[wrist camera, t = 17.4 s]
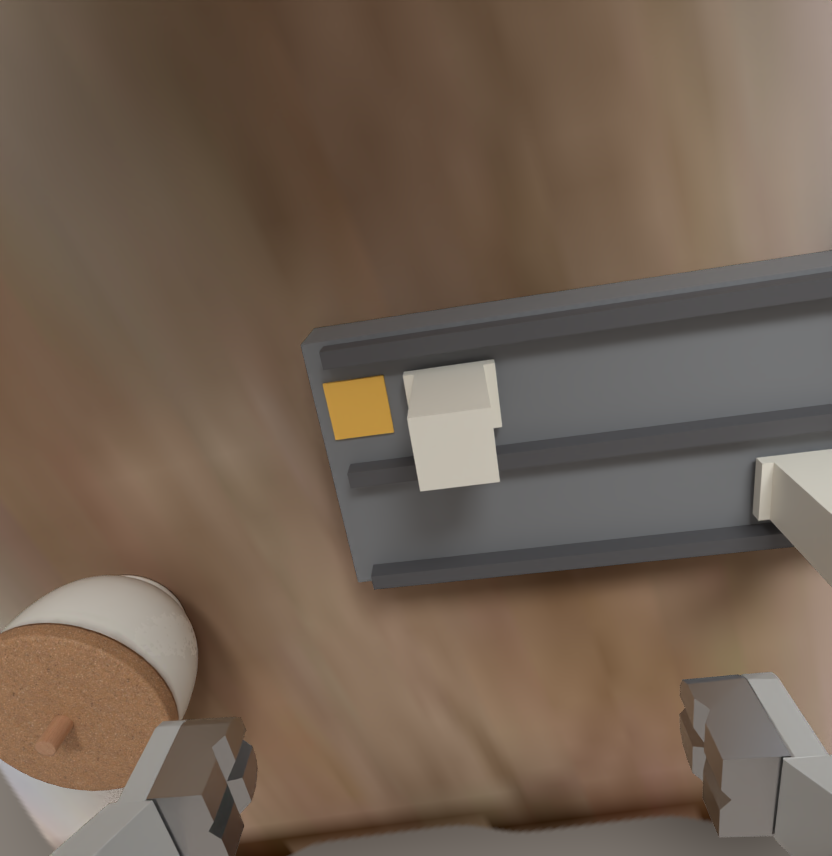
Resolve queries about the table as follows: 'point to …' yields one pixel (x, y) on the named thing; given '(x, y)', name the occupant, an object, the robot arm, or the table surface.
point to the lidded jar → (93, 679)
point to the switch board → (584, 421)
